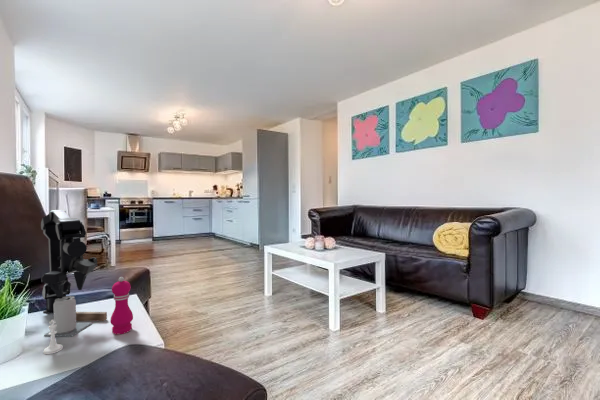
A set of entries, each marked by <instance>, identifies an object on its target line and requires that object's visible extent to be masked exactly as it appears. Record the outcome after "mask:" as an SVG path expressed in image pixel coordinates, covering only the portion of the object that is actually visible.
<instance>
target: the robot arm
mask: <svg viewBox="0 0 600 400" xmlns="http://www.w3.org/2000/svg"><path fill="white" fill-rule="evenodd" d="M40 229H41V231H42V233H43V235H44V236H45V237H46V239H48V261H49V272H47V273H43V275H42V276H41V283H44V285H43V288H42V292H41V294H42V298H43V299H44V300H45V304H46V305H45V308H46V310H43V311H42V313H49V314H50V313H51V314H54V306H53V304H54V302H55V300H56V299H58V298H59V299H62V298H63V297H66V296H70V294H71V286H72V283H71V282H70V280H69V277H68V276H69V275H71V274H73V276H74V280H75V283H76V288H77V290H78V291H81V290H82V289H83V287H84V284H85V281H86V279H87V277H88V275H89V274H90V273H92V272H94V271H95V269H96V267H98V259H97V258H96V257H94V256H93V257H90V258H89V259H88V258H87V259H85V258H84V256H83V255H84V254H86V253H87V249H88V246H87V244H86V243H85V242H84V241H81V239H85V238H86V234H87V231H86V228H85V225H84V224H83V222H82V221H81V220H80V219H79V218H73V217H71V216H70V215H69V214H68V213H67V211H66V210H65V209H55V210H53V209H52V210H49V213H48V214H47V215H45V216H43V217H42V219H41V222H40Z"/></svg>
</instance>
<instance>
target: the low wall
mask: <svg viewBox="0 0 600 400" xmlns="http://www.w3.org/2000/svg"><path fill="white" fill-rule="evenodd" d="M106 319H108V312H107V311H76V322H105V321H107V320H106ZM104 320H105V321H104Z"/></svg>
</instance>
